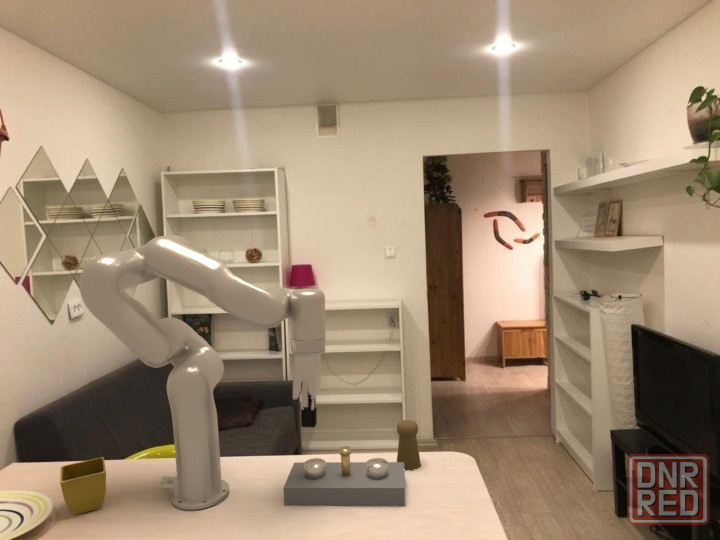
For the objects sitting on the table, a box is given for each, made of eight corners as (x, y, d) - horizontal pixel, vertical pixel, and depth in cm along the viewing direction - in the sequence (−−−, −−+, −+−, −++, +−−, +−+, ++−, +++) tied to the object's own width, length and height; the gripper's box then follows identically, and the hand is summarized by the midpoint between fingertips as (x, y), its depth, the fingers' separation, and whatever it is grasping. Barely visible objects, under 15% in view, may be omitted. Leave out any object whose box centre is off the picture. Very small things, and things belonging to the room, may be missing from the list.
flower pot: (63, 523, 115) (59, 482, 114) (64, 504, 122) (60, 465, 121) (109, 511, 119) (106, 471, 118) (107, 493, 126) (104, 456, 125)
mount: (284, 505, 118) (283, 487, 118) (295, 478, 130) (294, 462, 129) (405, 505, 116) (404, 488, 116) (404, 478, 128) (404, 462, 127)
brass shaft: (339, 477, 121) (338, 451, 121) (341, 471, 124) (339, 446, 123) (351, 477, 121) (350, 451, 120) (352, 471, 124) (351, 446, 123)
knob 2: (366, 495, 120) (365, 467, 119) (367, 484, 125) (366, 458, 124) (388, 495, 120) (387, 467, 119) (388, 484, 124) (388, 458, 124)
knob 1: (303, 495, 121) (302, 468, 121) (307, 484, 126) (306, 458, 125) (325, 495, 121) (323, 468, 120) (328, 484, 126) (326, 458, 125)
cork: (419, 471, 131) (418, 427, 130) (394, 469, 132) (393, 426, 131) (422, 459, 137) (420, 417, 136) (398, 458, 138) (396, 416, 137)
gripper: (297, 337, 128) (298, 413, 130) (284, 353, 113) (285, 439, 115) (329, 337, 127) (330, 414, 129) (320, 354, 112) (320, 440, 114)
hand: (309, 425), depth 122 cm, fingers closed
